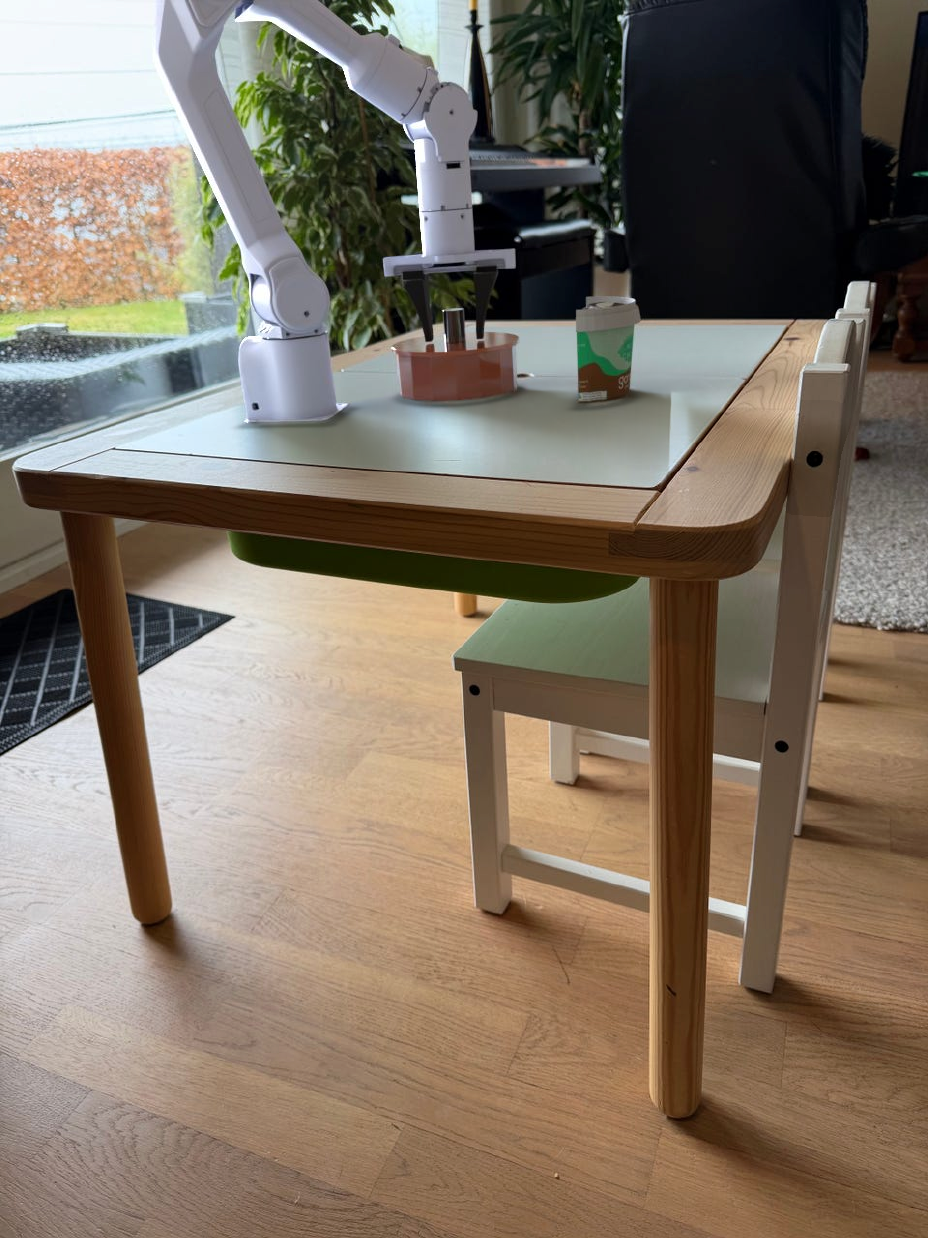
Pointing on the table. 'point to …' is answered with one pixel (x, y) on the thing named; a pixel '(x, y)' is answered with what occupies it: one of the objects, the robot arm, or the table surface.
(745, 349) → the table surface
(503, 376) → the tin
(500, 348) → the cover
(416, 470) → the table surface
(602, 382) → the food container
